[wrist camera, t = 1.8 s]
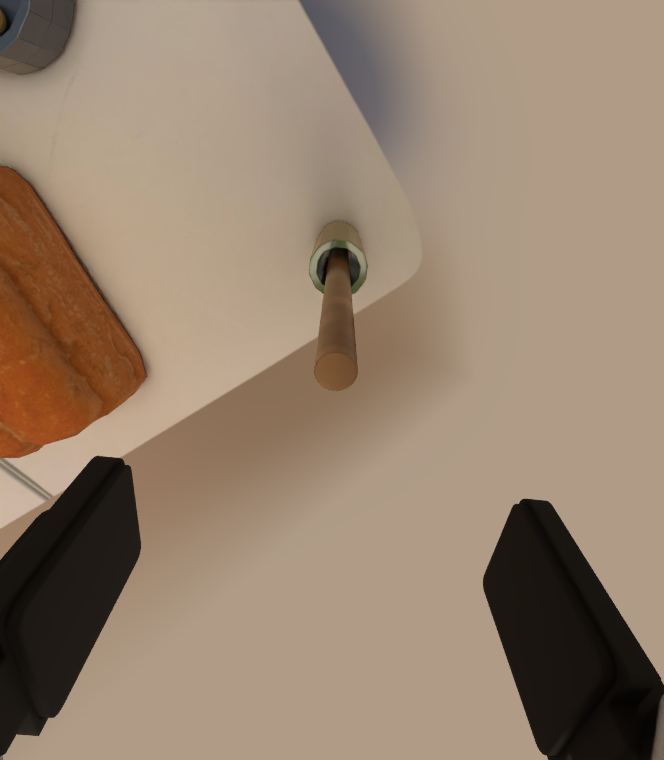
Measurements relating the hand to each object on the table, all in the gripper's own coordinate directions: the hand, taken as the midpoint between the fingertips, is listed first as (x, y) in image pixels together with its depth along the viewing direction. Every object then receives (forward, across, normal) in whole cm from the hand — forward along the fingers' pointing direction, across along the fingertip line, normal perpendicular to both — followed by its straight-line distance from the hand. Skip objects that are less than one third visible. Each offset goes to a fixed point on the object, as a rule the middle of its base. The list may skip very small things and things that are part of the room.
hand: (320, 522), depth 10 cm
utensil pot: (+38, 0, -1) cm, 38 cm away
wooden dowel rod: (+38, 0, -1) cm, 38 cm away
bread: (+39, +32, +9) cm, 51 cm away
